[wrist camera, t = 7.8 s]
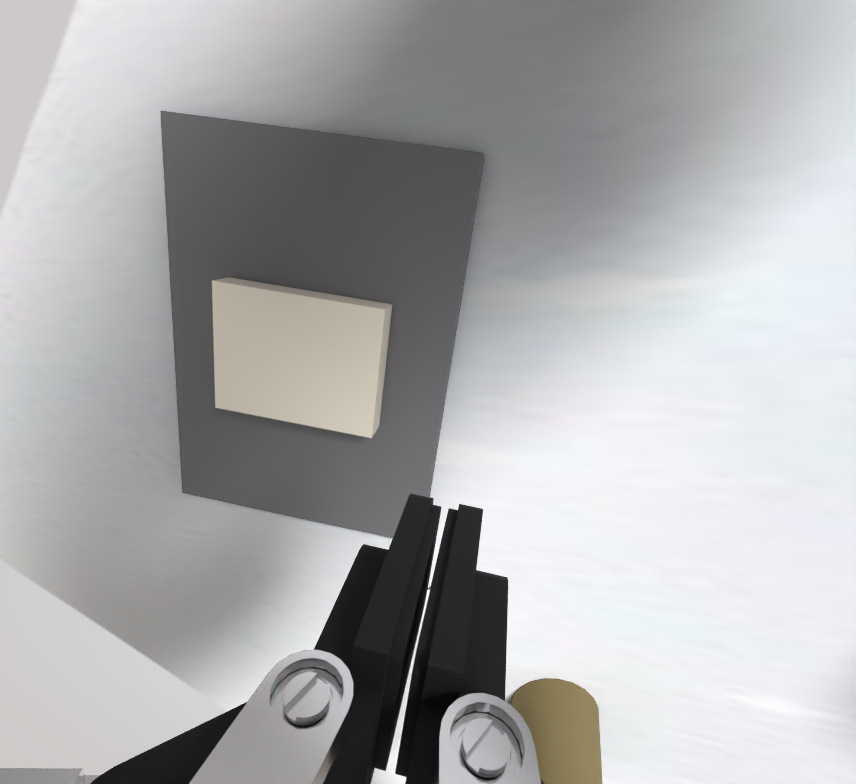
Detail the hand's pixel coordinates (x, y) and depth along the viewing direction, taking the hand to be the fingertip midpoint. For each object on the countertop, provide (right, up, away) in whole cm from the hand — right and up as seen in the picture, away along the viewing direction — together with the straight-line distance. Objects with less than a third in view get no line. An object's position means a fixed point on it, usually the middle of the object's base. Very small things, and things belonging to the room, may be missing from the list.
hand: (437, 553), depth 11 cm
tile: (-3, +5, +14) cm, 15 cm away
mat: (-7, +6, +16) cm, 18 cm away
